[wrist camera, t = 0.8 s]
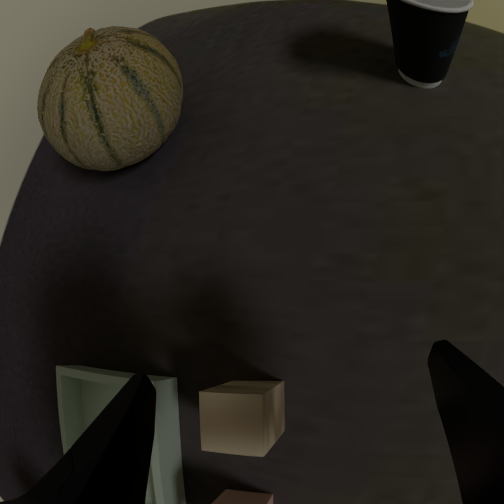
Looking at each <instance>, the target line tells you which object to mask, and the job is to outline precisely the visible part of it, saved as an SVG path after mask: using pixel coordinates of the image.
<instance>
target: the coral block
mask: <svg viewBox="0 0 504 504" xmlns="http://www.w3.org/2000/svg"><path fill="white" fill-rule="evenodd" d="M211 504H273V494H266V493H255V492H246V491H238V490H230V489H226V490H225V491H224V492H223V493H222V494H221V495H220V496H219V497H218V498H217V499H216V500H215V501H214V502H213V503H211Z"/></svg>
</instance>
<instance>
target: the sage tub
mask: <svg viewBox="0 0 504 504" xmlns="http://www.w3.org/2000/svg"><path fill="white" fill-rule="evenodd" d="M134 374H136V373H128V372H120V371H113V370H106V369H99V368H93V367H87V366H81V365H76V366H56V381H57V398H58V410H59V421H60V430H61V438H62V445H63V452H64V454H65V453H66V452H67V451H68V450H69V449H71V446H72V445H73V444H74V443H75V442H76V440H77V439H78V438H79V437H80V436H81V435H82V433H83V432H84V431H85V430H86V429H87V428H88V426H89V425H90V424H91V423H92V422H93V421H94V419H95V418H96V417H97V416H98V415H99V414H100V413H101V411H102V410H103V409H104V408H105V407H106V406H107V404H108V403H109V402H110V401H111V400H112V399H113V398H114V396H115V395H116V394H117V393H118V392H119V391H120V389H121V388H122V387H123V386H124V385H125V384H126V383H127V381H128V380H129V379H130V378H131V377H132V376H133V375H134ZM147 376H148V377H149V379H150V381H151V382H152V384H153V385H154V387H155V389H156V394H157V396H156V415H155V435H154V443H153V449H152V456H151V462H150V469H149V477H148V484H147V492H146V500H145V504H186V499H185V490H184V480H183V469H182V457H181V443H180V428H179V410H178V387H177V378H176V377H164V376H154V375H147Z"/></svg>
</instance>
